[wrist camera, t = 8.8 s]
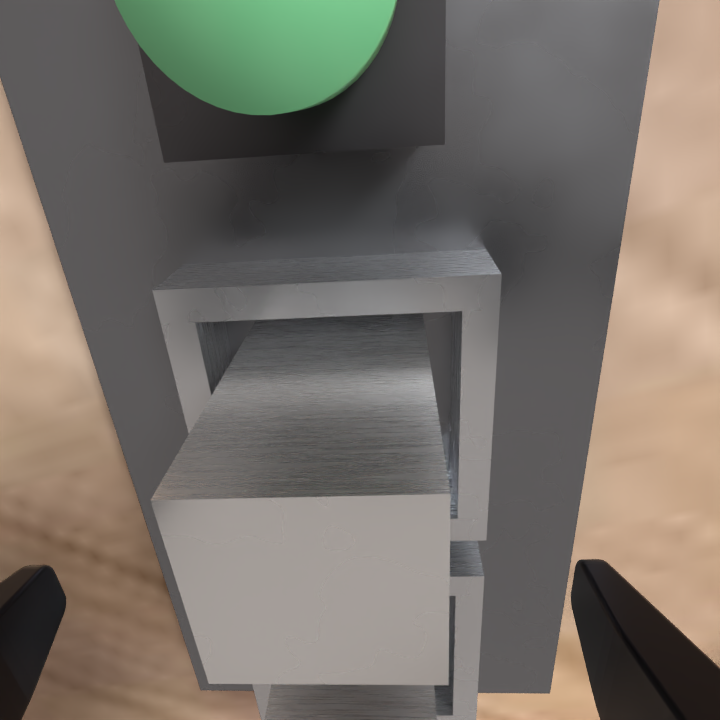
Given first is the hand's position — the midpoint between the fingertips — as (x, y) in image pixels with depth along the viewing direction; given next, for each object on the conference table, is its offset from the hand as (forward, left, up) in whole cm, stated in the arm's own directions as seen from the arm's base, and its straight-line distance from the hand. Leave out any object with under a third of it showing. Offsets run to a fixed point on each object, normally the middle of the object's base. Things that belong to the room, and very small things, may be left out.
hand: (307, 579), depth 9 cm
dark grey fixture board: (0, 0, -8) cm, 8 cm away
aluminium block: (0, 0, -7) cm, 7 cm away
